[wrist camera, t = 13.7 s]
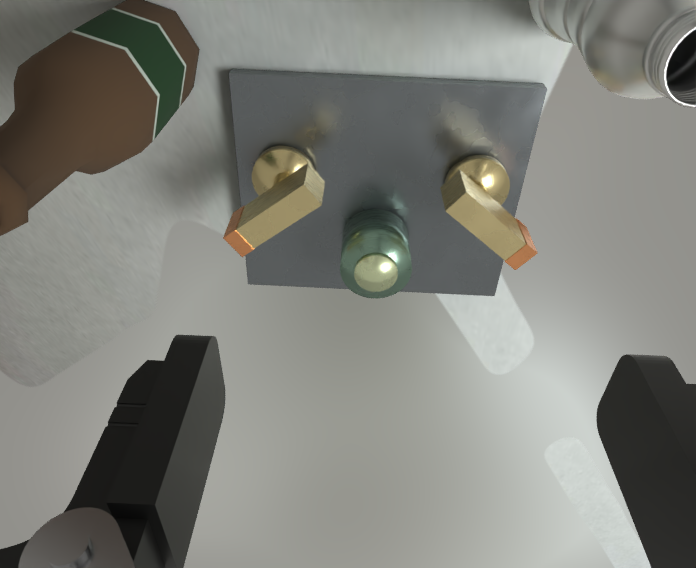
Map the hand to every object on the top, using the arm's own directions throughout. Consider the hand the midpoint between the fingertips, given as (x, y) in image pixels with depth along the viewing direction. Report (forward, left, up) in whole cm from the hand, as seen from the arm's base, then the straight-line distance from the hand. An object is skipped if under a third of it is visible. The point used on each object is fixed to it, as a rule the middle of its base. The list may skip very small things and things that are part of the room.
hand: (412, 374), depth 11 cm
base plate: (+15, +1, -36) cm, 39 cm away
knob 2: (+13, +9, -34) cm, 38 cm away
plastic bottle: (-2, +13, -36) cm, 38 cm away
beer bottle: (+4, -17, -36) cm, 40 cm away
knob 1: (+13, -7, -34) cm, 37 cm away
